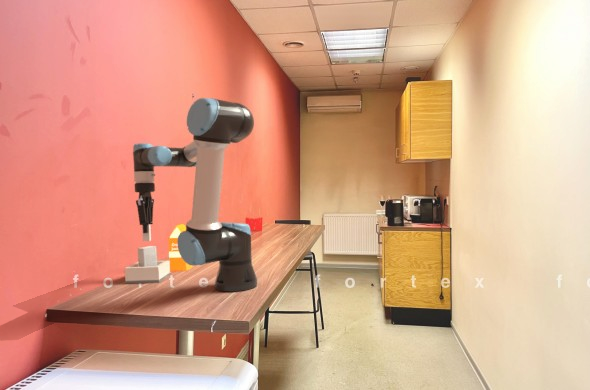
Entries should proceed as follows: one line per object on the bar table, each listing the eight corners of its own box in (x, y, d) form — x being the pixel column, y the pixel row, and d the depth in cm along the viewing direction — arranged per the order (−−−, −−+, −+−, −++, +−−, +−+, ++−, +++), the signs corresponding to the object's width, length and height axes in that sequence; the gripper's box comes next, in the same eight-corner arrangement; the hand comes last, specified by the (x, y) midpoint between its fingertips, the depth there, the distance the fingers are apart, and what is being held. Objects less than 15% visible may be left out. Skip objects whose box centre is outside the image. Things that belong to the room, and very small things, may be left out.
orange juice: (193, 266, 178) (191, 223, 177) (186, 270, 169) (184, 225, 168) (177, 266, 179) (175, 223, 178) (169, 271, 170) (167, 225, 169)
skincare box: (152, 274, 159) (150, 245, 159) (158, 275, 157) (156, 246, 156) (138, 277, 154) (137, 247, 154) (144, 278, 152) (143, 248, 151)
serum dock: (159, 282, 149) (158, 267, 149) (125, 283, 149) (124, 268, 149) (170, 274, 162) (169, 260, 162) (139, 275, 162) (138, 261, 162)
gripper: (147, 182, 148) (150, 243, 149) (159, 182, 161) (161, 238, 162) (128, 182, 148) (130, 243, 149) (141, 182, 161) (144, 238, 162)
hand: (147, 240), depth 156 cm, fingers closed
